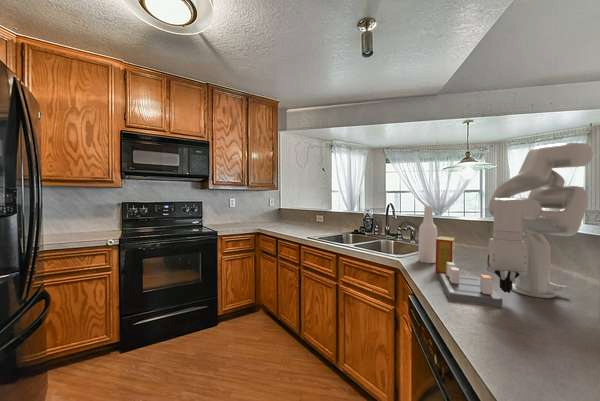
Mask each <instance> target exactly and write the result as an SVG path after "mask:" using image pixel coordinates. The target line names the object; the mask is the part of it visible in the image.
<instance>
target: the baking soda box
mask: <svg viewBox="0 0 600 401" xmlns="http://www.w3.org/2000/svg"><path fill="white" fill-rule="evenodd" d="M455 256H456V237H452V236H451V237H450V236H437V239H436V263H435V273H436V274H440V273H443V274H446V265H447V262H453V263H454V264H455V265H456V263H455V262H456V261H455V260H456V257H455Z"/></svg>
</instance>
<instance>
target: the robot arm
mask: <svg viewBox="0 0 600 401" xmlns="http://www.w3.org/2000/svg"><path fill="white" fill-rule="evenodd" d="M593 155H594V153H593V148H592V147H591V146H590V145H589V144H588V143H584V142H561V143H554V144H546V145H540V146H539V145H538V146H535V147H534V148H532V149H530V150H529V151H528V153H526V156H525V158H524V160H523V163H522V164H521V167H520V169H519V172H518V174H517V175H515V176H513V177H510V178H509V179H507V180H506V181H504V182H503V183H502V184H499V186H498V187H497V188H495V190H494V192H493V194H492V196H491V198H490V200H489V204H488V212H489V215H490V216H491V217H493V226H492V227H493V228H492V229H493V233H492V238H489V242H488V246H487V251H486V252H487V253H486V265H487V267H486V271H487V272H488V273H491V274H495V275H496V276H497V277H498V278H499V289H501V291H503V293H509V294H510V293H511V291H513V292H515V293H517V294H522V295H524V296H529V297H533V298H539V299H552V298H555V297H556V291H558V292H568V286H566V285H560V284H557V283H553V282H551V280H550V278H551V277H550V275H551V252H552V250H551V245H550V243H549V241H548V240H547V238H546V237H545V236H544V235H552V236H561V237H572V236H575V235H576V234H577V233H578V232H579V230H580V227H581V225H582V222H583V219H584V217H585V212H586V210H587V207H588V201H589V197H588V193H587V190H586V189H584V187H581V186H579V185H578V186H577V185H565V183H566V182H565V179H564V177H563V176H562V175H561V174H560V173H558V172H557V171H555V170H553V169H561V168H562V169H564V168H579V167H586V166H587V165H589V164H590V163H591V161H592V159H593ZM526 192H529V195H528V197H514V196H516V195H518V194H519V195H520V194H522V193H526ZM505 272H507V273H505ZM513 281H515V282H513Z"/></svg>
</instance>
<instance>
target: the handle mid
mask: <svg viewBox="0 0 600 401" xmlns="http://www.w3.org/2000/svg"><path fill="white" fill-rule="evenodd" d="M460 272H461V271H460V269H459V268H458V267H456V266H455V267H450V281H451V283H456V284H459V275H461V274H460Z"/></svg>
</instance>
